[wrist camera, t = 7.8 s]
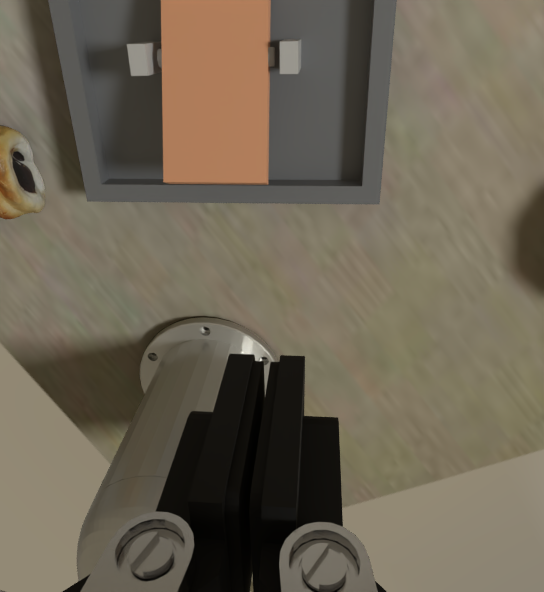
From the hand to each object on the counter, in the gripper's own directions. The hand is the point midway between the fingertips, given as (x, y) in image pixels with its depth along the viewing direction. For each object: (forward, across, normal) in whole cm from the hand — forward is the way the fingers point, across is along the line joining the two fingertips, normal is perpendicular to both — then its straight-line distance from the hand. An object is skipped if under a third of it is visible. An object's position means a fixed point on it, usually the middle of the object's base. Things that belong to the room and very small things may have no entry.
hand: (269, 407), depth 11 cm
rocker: (+23, +5, -6) cm, 24 cm away
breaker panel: (+27, +5, -6) cm, 28 cm away
